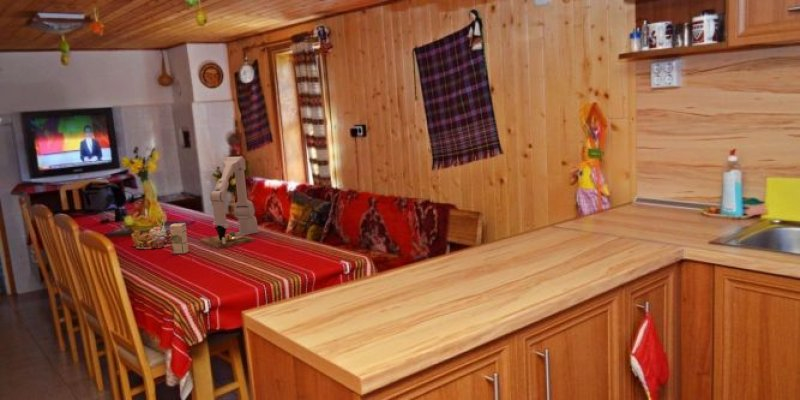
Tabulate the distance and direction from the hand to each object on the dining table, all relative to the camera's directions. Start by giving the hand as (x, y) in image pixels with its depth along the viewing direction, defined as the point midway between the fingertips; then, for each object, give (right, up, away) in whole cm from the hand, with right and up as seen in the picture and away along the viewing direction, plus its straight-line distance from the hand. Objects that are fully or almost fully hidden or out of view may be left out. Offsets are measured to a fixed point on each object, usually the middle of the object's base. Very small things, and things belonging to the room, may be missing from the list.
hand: (222, 239), depth 318 cm
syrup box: (-17, -6, -10) cm, 21 cm away
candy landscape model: (-37, -3, +11) cm, 39 cm away
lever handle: (+2, 0, +5) cm, 6 cm away
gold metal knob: (+4, -1, +2) cm, 4 cm away
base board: (0, -1, +9) cm, 9 cm away
